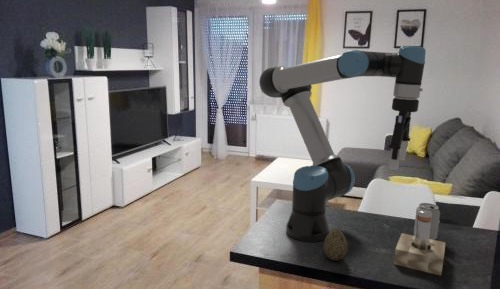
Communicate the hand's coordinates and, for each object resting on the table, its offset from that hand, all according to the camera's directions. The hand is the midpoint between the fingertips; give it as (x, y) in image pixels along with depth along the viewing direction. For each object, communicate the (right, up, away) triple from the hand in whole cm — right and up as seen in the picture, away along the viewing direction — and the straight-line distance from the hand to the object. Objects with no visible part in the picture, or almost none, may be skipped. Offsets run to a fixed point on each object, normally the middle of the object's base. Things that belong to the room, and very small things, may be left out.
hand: (396, 164), depth 124 cm
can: (+14, -27, +12) cm, 33 cm away
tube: (+5, -30, -4) cm, 30 cm away
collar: (+5, -30, -4) cm, 30 cm away
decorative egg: (-21, -29, -4) cm, 36 cm away
